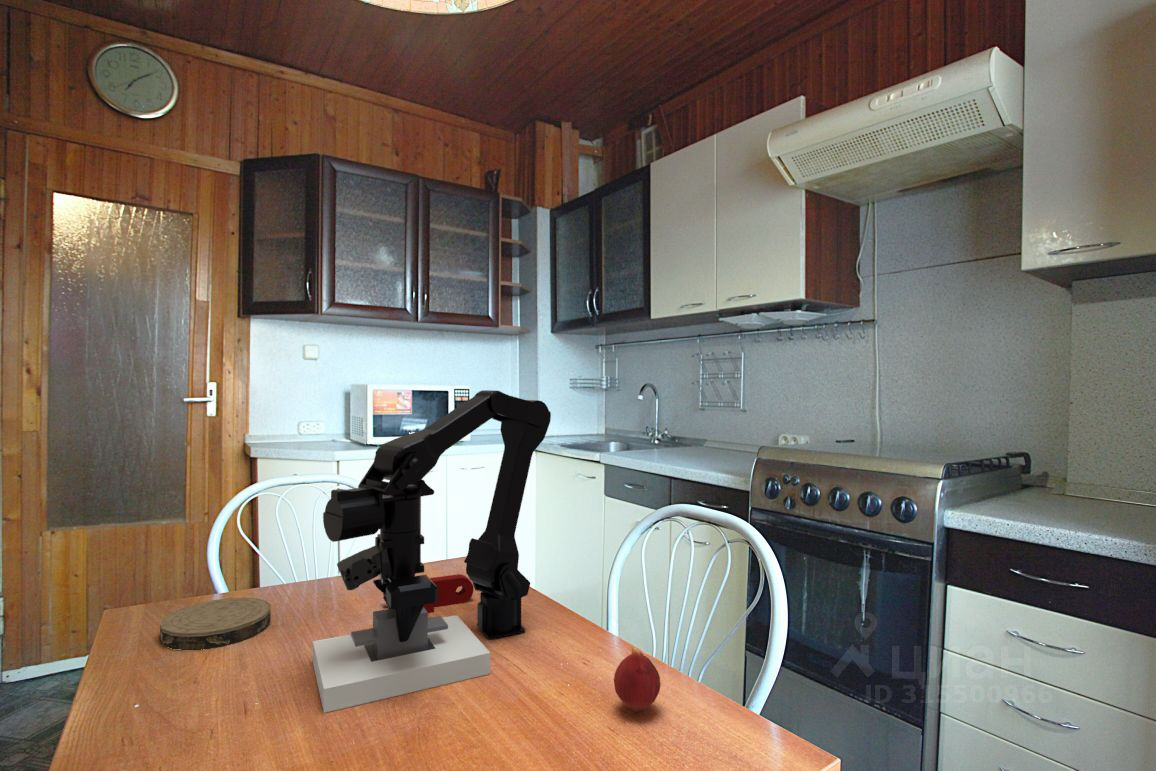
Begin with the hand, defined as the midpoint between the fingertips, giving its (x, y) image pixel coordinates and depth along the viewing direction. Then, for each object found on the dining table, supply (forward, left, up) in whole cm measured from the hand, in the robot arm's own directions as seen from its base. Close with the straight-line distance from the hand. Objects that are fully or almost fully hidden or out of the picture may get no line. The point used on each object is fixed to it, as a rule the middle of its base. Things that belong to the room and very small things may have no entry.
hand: (400, 635), depth 88 cm
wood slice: (+24, -28, -5) cm, 37 cm away
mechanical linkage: (-10, -23, -5) cm, 25 cm away
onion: (-24, +26, -5) cm, 36 cm away
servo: (0, 0, -2) cm, 2 cm away
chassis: (0, 0, -5) cm, 5 cm away
